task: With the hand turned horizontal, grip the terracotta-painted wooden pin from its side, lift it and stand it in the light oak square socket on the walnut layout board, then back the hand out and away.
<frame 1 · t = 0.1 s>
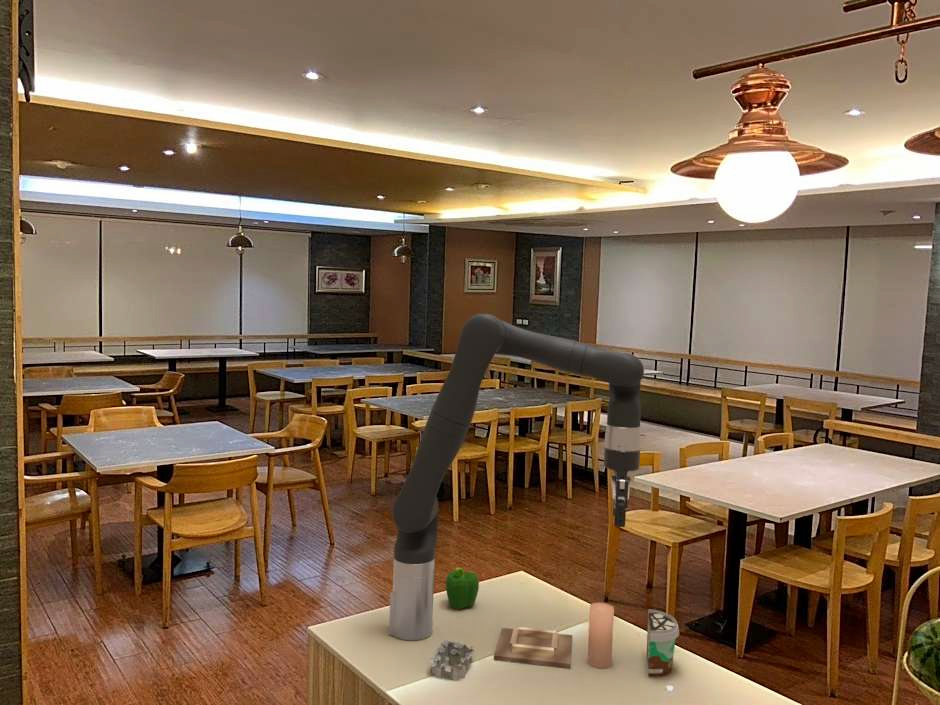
hand: (618, 521, 157), 29 cm above the table, tool pointing down, fingers open, 8 cm apart
food container: (662, 668, 153), on the table
bell pepper: (460, 606, 182), on the table
terracotta pin: (599, 662, 154), on the table
egg carton: (451, 669, 150), on the table
layout board: (534, 649, 159), on the table
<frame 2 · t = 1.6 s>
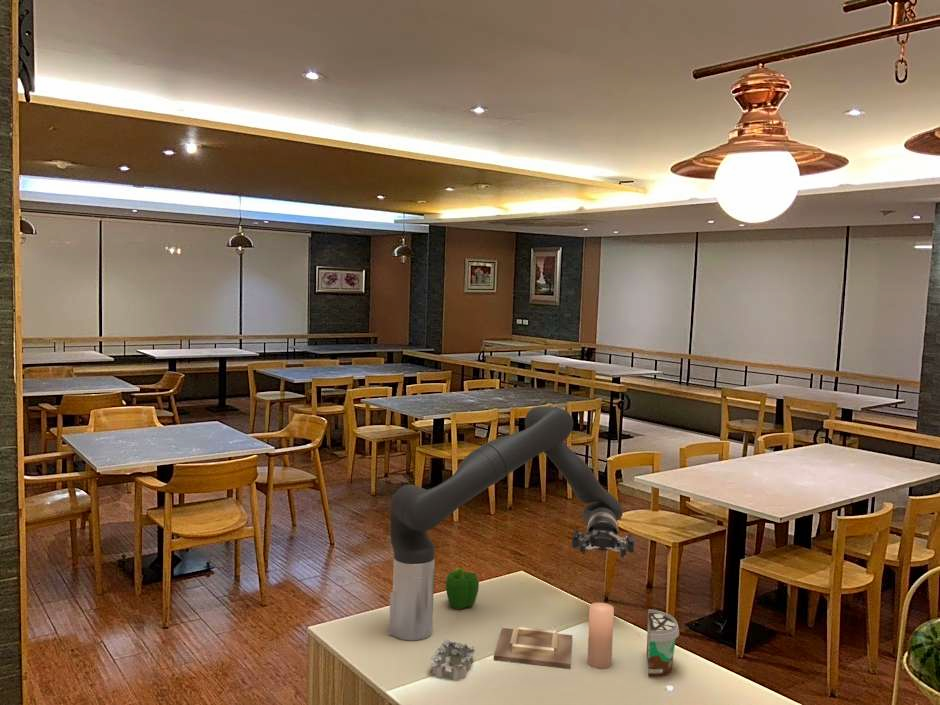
hand: (603, 551, 164), 20 cm above the table, tool horizontal, fingers open, 8 cm apart
nothing on the table moved.
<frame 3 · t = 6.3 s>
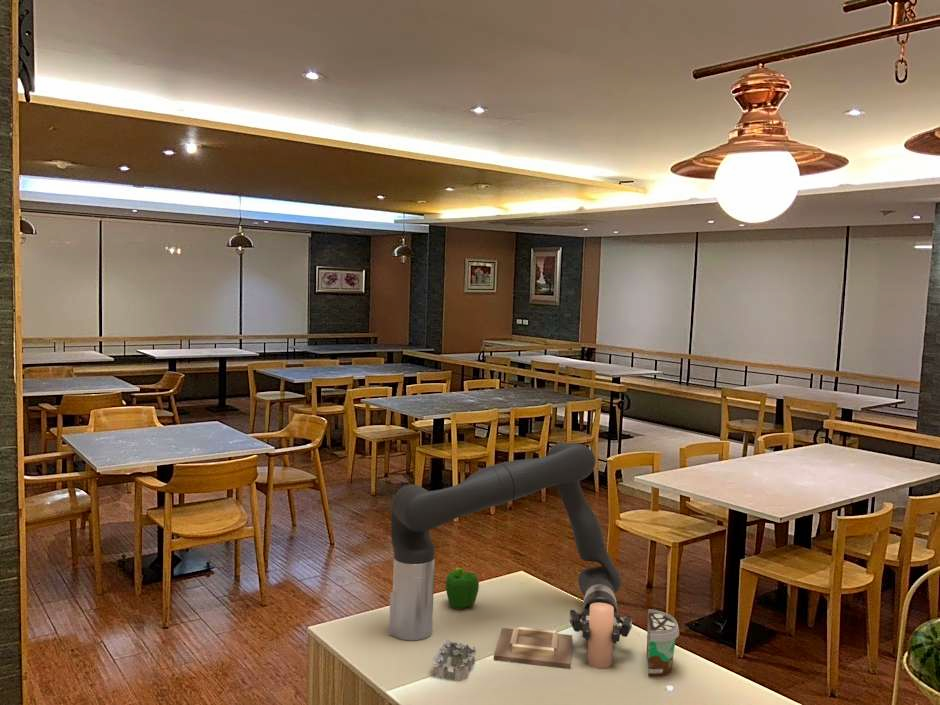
hand: (601, 637, 151), 7 cm above the table, tool horizontal, fingers closed on terracotta pin, 5 cm apart
terracotta pin: (599, 662, 154), on the table, touching gripper
everything else where it was.
when the fingers open (9 cm above the table, at t = 11.3 s): terracotta pin stays where it is, resting on layout board.
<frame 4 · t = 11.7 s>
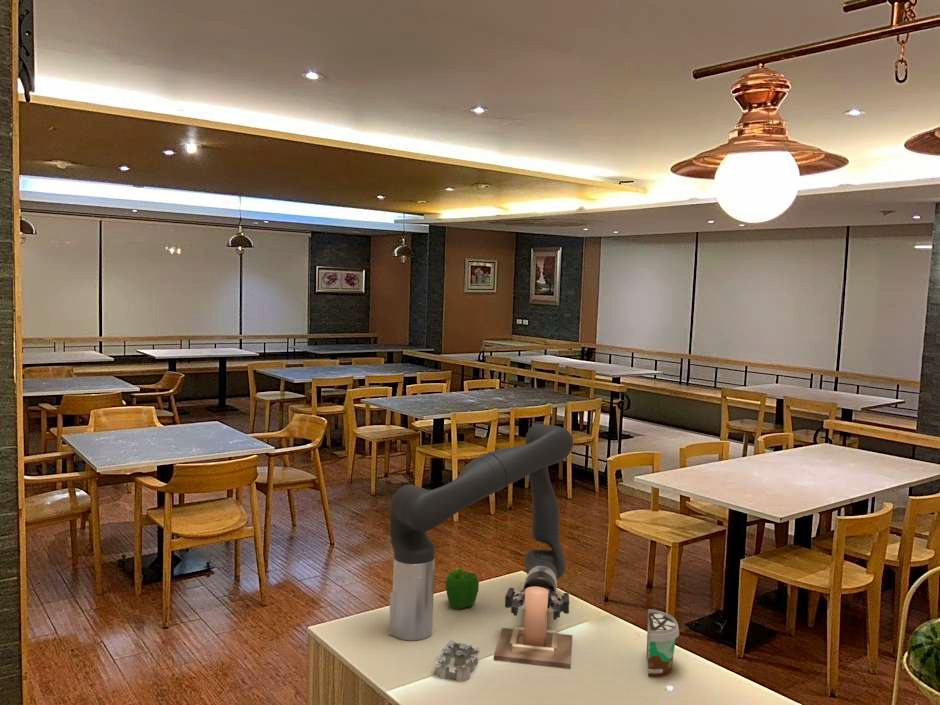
hand: (535, 613, 157), 9 cm above the table, tool horizontal, fingers open, 8 cm apart
terracotta pin: (534, 644, 159), point 1 cm above the table, touching layout board
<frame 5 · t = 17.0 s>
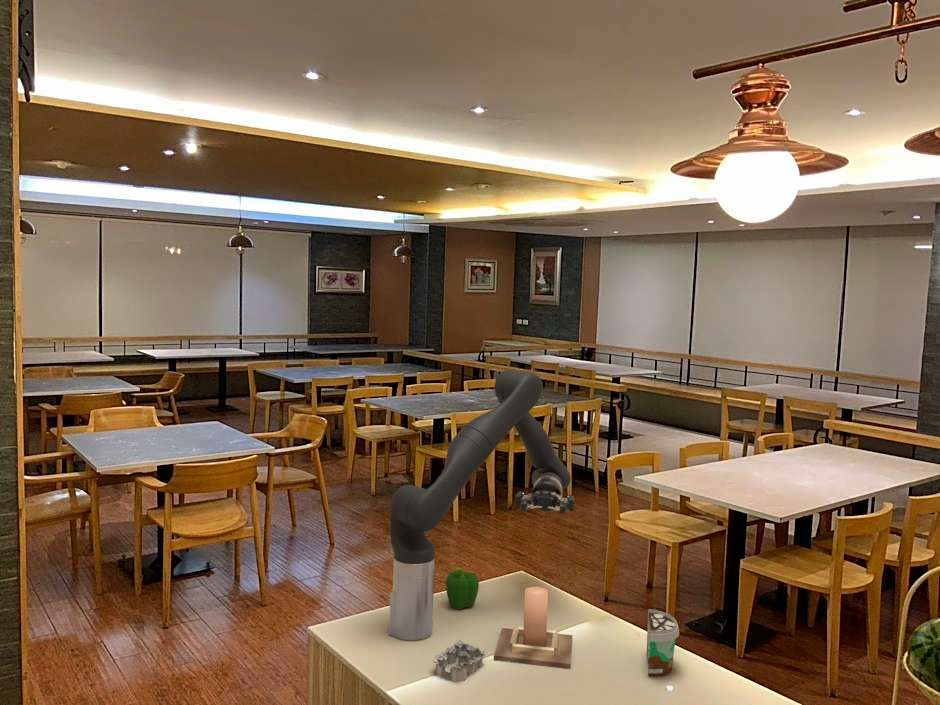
hand: (542, 508, 170), 28 cm above the table, tool horizontal, fingers open, 8 cm apart
at the end: terracotta pin 0.1 cm off-centre on the layout board, point 1.0 cm above the layout board's base; terracotta pin tilted 0°; the gripper is holding nothing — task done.
